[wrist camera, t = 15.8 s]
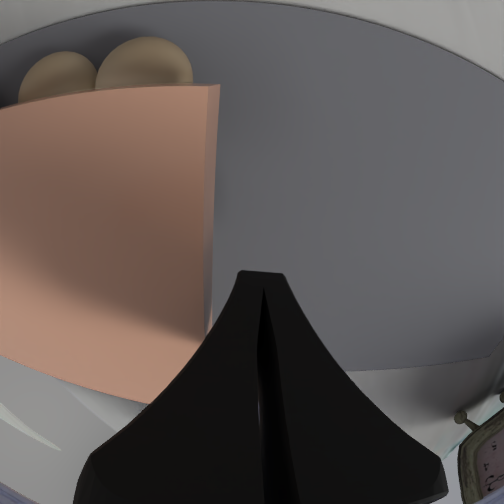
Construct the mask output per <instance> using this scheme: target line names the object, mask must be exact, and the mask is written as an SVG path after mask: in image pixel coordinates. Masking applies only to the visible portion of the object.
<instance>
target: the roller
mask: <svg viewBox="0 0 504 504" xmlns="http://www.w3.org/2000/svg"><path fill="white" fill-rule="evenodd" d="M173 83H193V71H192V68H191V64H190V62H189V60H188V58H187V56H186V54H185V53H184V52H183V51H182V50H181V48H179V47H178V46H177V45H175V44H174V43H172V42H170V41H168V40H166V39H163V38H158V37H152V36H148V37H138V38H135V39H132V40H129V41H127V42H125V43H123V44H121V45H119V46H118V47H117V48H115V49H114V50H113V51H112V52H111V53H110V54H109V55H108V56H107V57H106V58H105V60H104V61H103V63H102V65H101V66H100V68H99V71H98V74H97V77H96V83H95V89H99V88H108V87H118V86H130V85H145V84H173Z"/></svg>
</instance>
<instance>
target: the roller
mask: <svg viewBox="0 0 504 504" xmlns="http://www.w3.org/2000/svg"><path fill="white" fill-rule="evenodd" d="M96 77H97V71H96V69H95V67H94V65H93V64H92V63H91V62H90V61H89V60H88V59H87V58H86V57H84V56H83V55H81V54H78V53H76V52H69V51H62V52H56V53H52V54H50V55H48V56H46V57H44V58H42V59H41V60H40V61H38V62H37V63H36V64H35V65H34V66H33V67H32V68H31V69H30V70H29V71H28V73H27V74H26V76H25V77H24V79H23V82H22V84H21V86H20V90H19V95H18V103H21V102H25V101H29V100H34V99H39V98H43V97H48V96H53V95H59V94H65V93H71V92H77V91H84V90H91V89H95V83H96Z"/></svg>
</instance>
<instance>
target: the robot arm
mask: <svg viewBox="0 0 504 504" xmlns="http://www.w3.org/2000/svg"><path fill="white" fill-rule="evenodd" d="M448 492H449V491H448V486H447V480H446V476H445V471H444V468H443V465H442V462H441V459H440V457H439V456H437V455H436V454H434V453H433V452H432V451H430V450H429V449H427V448H426V447H425V446H423V445H422V444H420V443H419V442H418V441H416V440H415V439H413V438H412V437H411V436H409V435H408V434H407V433H406V432H404V431H403V430H402V429H401V428H400V427H398V426H397V425H396V424H395V423H394V422H393V421H391V420H390V419H389V418H388V417H387V416H386V415H385V414H384V413H383V412H382V411H381V410H380V409H379V408H378V407H377V406H376V405H375V404H374V403H373V402H372V401H371V400H370V399H369V398H368V397H367V396H366V395H365V394H364V393H363V392H362V391H361V390H360V389H359V388H358V387H357V386H356V385H355V383H354V382H353V381H352V380H351V379H350V378H349V377H348V375H347V374H346V373H345V372H344V370H343V369H342V368H341V367H340V366H339V364H338V363H337V362H336V360H335V359H334V358H333V356H332V355H331V354H330V352H329V351H328V350H327V348H326V347H325V345H324V344H323V342H322V341H321V339H320V338H319V336H318V335H317V333H316V332H315V330H314V329H313V327H312V325H311V324H310V322H309V320H308V319H307V317H306V316H305V314H304V312H303V310H302V309H301V307H300V305H299V303H298V301H297V299H296V298H295V296H294V294H293V292H292V290H291V288H290V286H289V284H288V281H287V279H286V277H285V275H284V274H283V273H274V272H261V271H248V270H241V271H239V272H238V273H237V278H236V281H235V284H234V287H233V289H232V291H231V294H230V296H229V298H228V300H227V302H226V304H225V306H224V308H223V309H222V311H221V313H220V315H219V317H218V319H217V320H216V322H215V324H214V325H213V327H212V328H211V330H210V331H209V333H208V334H207V336H206V338H205V339H204V341H203V342H202V344H201V345H200V346H199V348H198V349H197V351H196V352H195V353H194V355H193V356H192V357H191V358H190V360H189V361H188V362H187V364H186V365H185V366H184V367H183V369H182V370H181V371H180V372H179V373H178V374H177V376H176V377H175V378H174V379H173V380H172V381H171V382H170V384H169V385H168V386H167V387H166V388H165V389H164V390H163V391H162V392H161V393H160V394H159V395H158V396H157V397H156V398H155V399H154V400H153V401H152V402H151V403H150V404H149V405H148V406H147V407H146V408H145V409H144V410H143V411H142V412H141V413H140V414H138V415H137V416H136V417H135V418H134V419H133V420H132V421H131V422H130V423H129V424H127V425H126V426H125V427H124V428H123V429H121V430H120V431H119V432H118V433H116V434H115V435H114V436H112V437H111V438H110V439H109V440H107V441H106V442H105V443H103V444H102V445H101V446H100V447H98V448H97V449H96V450H94V451H93V452H92V453H91V454H90V456H89V457H88V459H87V461H86V463H85V465H84V467H83V470H82V472H81V474H80V476H79V479H78V482H77V486H76V491H75V495H74V500H73V504H430V503H432V502H435V501H437V500H439V499H441V498H443V497H445V496H446V495H447V494H448ZM0 504H39V503H37V502H35V501H33V500H31V499H29V498H27V497H25V496H23V495H22V494H20V493H18V492H16V491H15V490H13V489H11V488H9V487H8V486H6V485H4V484H3V483H1V482H0ZM474 504H504V486H503V487H501V488H499V489H497V490H496V491H494V492H492V493H490V494H488V495H487V496H485V497H484V498H483V499H482V500H480V501H478V502H476V503H474Z"/></svg>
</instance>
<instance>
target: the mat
mask: <svg viewBox="0 0 504 504" xmlns="http://www.w3.org/2000/svg"><path fill="white" fill-rule="evenodd" d="M148 36H152V37H158V38H163V39H166V40H168V41H170V42H172V43H174V44H175V45H177V46H178V47H179V48H181V50H182V51H183V52H184V53H185V54H186V56H187V58H188V60H189V62H190V64H191V68H192V71H193V83H200V84H220V98H219V113H218V129H217V147H216V167H215V191H214V220H213V265H212V327H213V325H214V324H215V322H216V320H217V319H218V317H219V315H220V313H221V311H222V309H223V308H224V306H225V304H226V302H227V300H228V298H229V296H230V294H231V291H232V289H233V287H234V284H235V281H236V278H237V273H238V272H239V271H241V270H248V271H261V272H274V273H283V274H284V275H285V277H286V279H287V281H288V284H289V286H290V288H291V290H292V292H293V294H294V296H295V298H296V299H297V301H298V303H299V305H300V307H301V309H302V310H303V312H304V314H305V316H306V317H307V319H308V320H309V322H310V324H311V325H312V327H313V329H314V330H315V332H316V333H317V335H318V336H319V338H320V339H321V341H322V342H323V344H324V345H325V347H326V348H327V350H328V351H329V352H330V354H331V355H332V356H333V358H334V359H335V360H336V362H337V363H338V364H339V366H340V367H341V368H342V369H343V370H344V371H366V370H384V369H398V368H410V367H420V366H429V365H438V364H446V363H453V362H460V361H466V360H473V359H479V358H484V357H489V356H490V355H491V353H492V352H493V351H494V349H495V348H496V347H497V345H498V344H499V343H500V341H501V340H502V339H503V337H504V82H503V81H502V80H500V79H499V78H497V77H495V76H494V75H492V74H490V73H488V72H487V71H485V70H483V69H481V68H479V67H478V66H476V65H474V64H472V63H470V62H468V61H466V60H464V59H462V58H460V57H458V56H456V55H454V54H452V53H450V52H448V51H445V50H443V49H441V48H439V47H436V46H434V45H432V44H429V43H427V42H425V41H422V40H420V39H417V38H414V37H412V36H409V35H406V34H404V33H401V32H398V31H395V30H392V29H389V28H386V27H383V26H379V25H376V24H373V23H369V22H366V21H362V20H358V19H354V18H351V17H346V16H342V15H338V14H333V13H329V12H324V11H318V10H313V9H307V8H301V7H294V6H287V5H279V4H269V3H258V2H242V1H186V2H170V3H159V4H150V5H142V6H135V7H128V8H122V9H116V10H111V11H106V12H101V13H96V14H92V15H88V16H84V17H80V18H76V19H72V20H68V21H65V22H62V23H58V24H55V25H52V26H49V27H46V28H43V29H40V30H37V31H34V32H31V33H29V34H26V35H23V36H21V37H18V38H16V39H13V40H11V41H9V42H6V43H4V44H2V45H0V108H2V107H6V106H9V105H13V104H17V103H18V95H19V90H20V86H21V84H22V82H23V79H24V77H25V76H26V74H27V73H28V71H29V70H30V69H31V68H32V67H33V66H34V65H35V64H36V63H37V62H38V61H40V60H41V59H42V58H44V57H46V56H48V55H50V54H52V53H56V52H62V51H69V52H76V53H78V54H81V55H83V56H84V57H86V58H87V59H88V60H89V61H90V62H91V63H92V64H93V65H94V67H95V69H96V71H97V74H98V71H99V68H100V66H101V65H102V63H103V61H104V60H105V58H106V57H107V56H108V55H109V54H110V53H111V52H112V51H113V50H114V49H115V48H117V47H118V46H119V45H121V44H123V43H125V42H127V41H129V40H132V39H135V38H138V37H148Z"/></svg>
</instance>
